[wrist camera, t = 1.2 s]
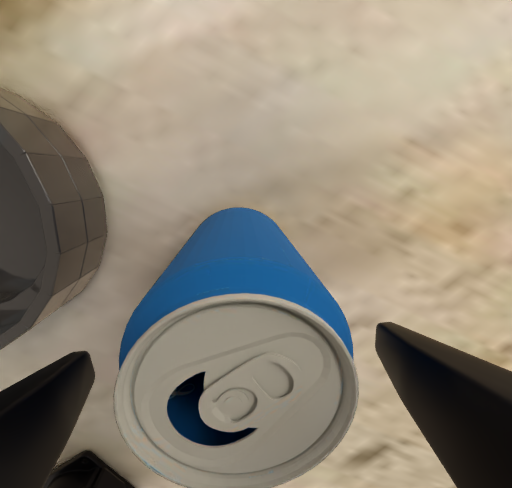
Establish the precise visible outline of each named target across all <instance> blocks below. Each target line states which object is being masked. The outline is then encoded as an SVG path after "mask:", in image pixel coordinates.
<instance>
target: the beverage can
mask: <svg viewBox="0 0 512 488" xmlns="http://www.w3.org/2000/svg"><path fill="white" fill-rule="evenodd" d="M358 395H359V387H358V377H357V372H356V368H355V365H354V362H353V343H352V338H351V333H350V329H349V326H348V324H347V321H346V318H345V316H344V314H343V312H342V310H341V308H340V307H339V305H338V303H337V302H336V301H335V300H334V298H333V297H332V296H331V294H330V293H329V292H328V290H327V289H326V288H325V287H324V285H323V284H322V283H321V281H320V280H319V279H318V277H317V276H316V275H315V274H314V272H313V271H312V270H311V268H310V267H309V266H308V264H307V263H306V262H305V261H304V259H303V258H302V257H301V255H300V254H299V253H298V252H297V250H296V249H295V248H294V246H293V245H292V244H291V242H290V241H289V240H288V239H287V237H286V236H285V235H284V233H283V232H282V231H281V229H280V228H279V227H278V226H277V224H276V223H275V222H274V221H273V220H272V219H270V218H269V217H268V216H266V215H264V214H263V213H261V212H258V211H256V210H253V209H249V208H229V209H225V210H221V211H219V212H217V213H215V214H213V215H211V216H210V217H208V218H207V219H206V220H205V221H204V222H203V223H202V224H201V225H200V226H199V227H198V228H197V230H196V231H195V232H194V234H193V235H192V236H191V237H190V239H189V240H188V241H187V243H186V244H185V245H184V246H183V248H182V249H181V250H180V252H179V253H178V254H177V255H176V257H175V258H174V259H173V261H172V262H171V263H170V265H169V266H168V267H167V268H166V270H165V271H164V272H163V274H162V275H161V276H160V277H159V279H158V280H157V281H156V283H155V284H154V285H153V286H152V288H151V289H150V290H149V292H148V293H147V294H146V295H145V297H144V298H143V299H142V301H141V302H140V303H139V305H138V306H137V308H136V309H135V310H134V312H133V314H132V316H131V318H130V320H129V322H128V324H127V326H126V329H125V332H124V335H123V338H122V342H121V348H120V355H119V374H118V377H117V380H116V384H115V391H114V412H115V418H116V423H117V425H118V428H119V431H120V433H121V435H122V437H123V439H124V441H125V442H126V444H127V446H128V447H129V448H130V450H131V451H132V452H133V454H134V455H135V456H136V457H137V458H138V459H139V460H140V461H141V462H142V463H143V464H144V465H145V466H147V467H148V468H149V469H151V470H152V471H153V472H155V473H156V474H158V475H160V476H161V477H163V478H165V479H167V480H169V481H171V482H174V483H176V484H178V485H181V486H184V487H187V488H271V487H275V486H278V485H280V484H283V483H286V482H288V481H291V480H293V479H295V478H297V477H299V476H301V475H303V474H304V473H306V472H307V471H309V470H311V469H312V468H314V467H315V466H316V465H318V464H319V463H320V462H321V461H323V460H324V459H325V458H326V457H327V456H328V455H329V454H330V453H331V452H332V451H333V450H334V449H335V448H336V447H337V445H338V444H339V443H340V442H341V440H342V439H343V437H344V436H345V434H346V433H347V431H348V429H349V427H350V425H351V423H352V420H353V418H354V415H355V411H356V408H357V403H358Z"/></svg>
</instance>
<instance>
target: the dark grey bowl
mask: <svg viewBox="0 0 512 488" xmlns="http://www.w3.org/2000/svg"><path fill="white" fill-rule="evenodd" d="M106 237H107V224H106V215H105V206H104V198H103V195H102V192H101V190H100V188H99V186H98V183H97V181H96V179H95V176H94V174H93V172H92V170H91V167H90V165H89V163H88V161H87V159H86V158H85V156H84V155H83V154H82V153H81V152H80V150H79V149H78V148H77V147H76V145H75V144H74V143H73V142H72V141H71V139H70V138H69V137H68V136H67V134H66V133H65V132H64V131H63V130H62V128H61V127H60V126H59V125H58V124H57V123H56V122H55V121H53V120H52V119H51V118H49V117H48V116H47V115H45V114H44V113H42V112H41V111H40V110H38V109H37V108H36V107H34V106H33V105H31V104H30V103H29V102H27V101H26V100H25V99H23V98H22V97H20V96H19V95H17V94H15V93H12V92H9V91H7V90H4V89H2V88H0V350H1V349H2V348H4V347H5V346H7V345H8V344H10V343H11V342H13V341H14V340H15V339H17V338H18V337H20V336H21V335H23V334H24V333H26V332H27V331H29V330H30V329H31V328H33V327H34V326H35V325H37V324H38V323H39V322H41V321H42V320H44V319H45V318H46V317H48V316H49V315H50V314H52V313H53V312H54V311H56V310H57V309H58V308H60V307H61V306H63V305H64V304H65V303H67V302H68V301H69V300H71V299H72V298H73V297H75V296H76V295H78V294H79V293H80V292H82V290H83V289H84V288H85V286H86V285H87V283H88V282H89V280H90V279H91V277H92V276H93V275H94V273H95V272H96V270H97V269H98V267H99V265H100V262H101V258H102V254H103V249H104V245H105V241H106Z"/></svg>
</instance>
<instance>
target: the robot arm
mask: <svg viewBox="0 0 512 488" xmlns="http://www.w3.org/2000/svg"><path fill="white" fill-rule="evenodd" d="M375 348H376V352H377V354H378V356H379V358H380V360H381V362H382V364H383V366H384V368H385V370H386V372H387V374H388V376H389V378H390V379H391V381H392V383H393V385H394V387H395V389H396V391H397V393H398V395H399V397H400V398H401V400H402V402H403V403H404V405H405V407H406V408H407V410H408V412H409V413H410V415H411V416H412V418H413V419H414V421H415V422H416V424H417V426H418V427H419V429H420V430H421V432H422V433H423V435H424V437H425V438H426V440H427V441H428V443H429V444H430V446H431V448H432V449H433V451H434V452H435V454H436V455H437V457H438V458H439V460H440V462H441V463H442V465H443V466H444V468H445V469H446V471H447V473H448V474H449V476H450V477H451V479H452V480H453V482H454V483H455V485H456V487H457V488H512V372H511V371H509V370H506V369H504V368H501V367H499V366H497V365H494V364H492V363H489V362H487V361H484V360H482V359H480V358H477V357H475V356H472V355H470V354H467V353H465V352H463V351H460V350H458V349H455V348H453V347H451V346H448V345H446V344H443V343H441V342H438V341H436V340H434V339H431V338H429V337H426V336H424V335H421V334H419V333H417V332H414V331H412V330H409V329H407V328H404V327H402V326H400V325H397V324H395V323H392V322H384V323H379V324H378V325H377V328H376V340H375ZM94 379H95V372H94V368H93V364H92V361H91V357H90V354H89V353H88V352H87V351H79V352H72V353H70V354H68V355H66V356H64V357H62V358H61V359H59V360H57V361H55V362H53V363H52V364H50V365H48V366H46V367H44V368H42V369H41V370H39V371H37V372H35V373H33V374H32V375H30V376H28V377H26V378H24V379H22V380H21V381H19V382H17V383H15V384H13V385H12V386H10V387H8V388H6V389H4V390H3V391H1V392H0V488H134V487H133V486H132V485H131V484H130V483H128V482H127V481H126V480H125V479H123V478H122V477H121V476H120V475H119V474H117V473H116V472H115V471H114V470H112V469H111V468H110V467H109V466H108V465H106V464H105V463H104V462H103V461H101V460H100V459H99V458H98V457H96V456H95V455H94V454H93V453H91V452H90V451H84V452H82V453H80V454H79V455H77V456H75V457H74V458H72V459H71V460H69V461H67V462H66V463H64V464H62V465H61V466H59V467H58V468H56V469H54V470H53V468H54V466H55V464H56V462H57V460H58V458H59V457H60V455H61V453H62V451H63V449H64V447H65V445H66V443H67V441H68V439H69V437H70V435H71V433H72V431H73V429H74V427H75V424H76V422H77V420H78V417H79V415H80V413H81V411H82V408H83V406H84V404H85V401H86V399H87V397H88V394H89V392H90V390H91V387H92V385H93V383H94ZM52 470H53V471H52Z"/></svg>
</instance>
